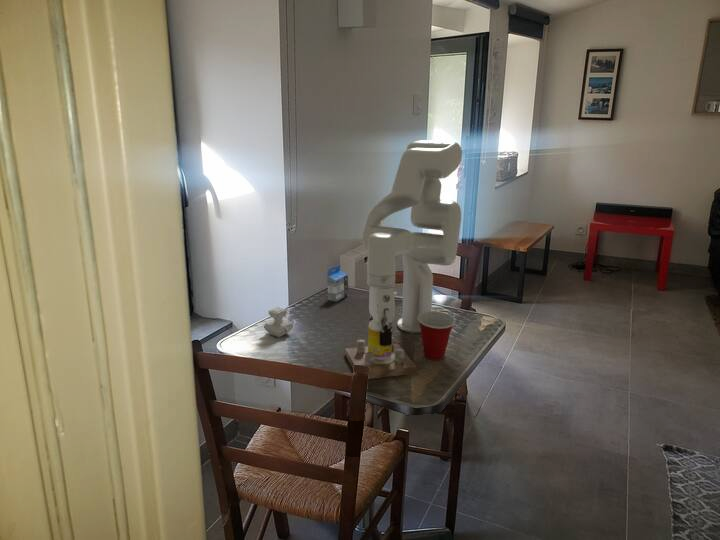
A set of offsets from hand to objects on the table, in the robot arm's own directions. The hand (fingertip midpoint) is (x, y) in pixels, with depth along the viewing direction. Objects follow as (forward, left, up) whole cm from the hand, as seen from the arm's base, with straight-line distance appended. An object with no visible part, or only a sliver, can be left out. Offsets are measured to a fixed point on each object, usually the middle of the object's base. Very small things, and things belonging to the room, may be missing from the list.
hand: (380, 337), depth 149 cm
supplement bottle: (0, 0, -6) cm, 6 cm away
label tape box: (-1, -58, -8) cm, 59 cm away
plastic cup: (-17, -1, -8) cm, 19 cm away
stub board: (0, 0, -8) cm, 8 cm away
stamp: (+25, -28, -8) cm, 38 cm away
